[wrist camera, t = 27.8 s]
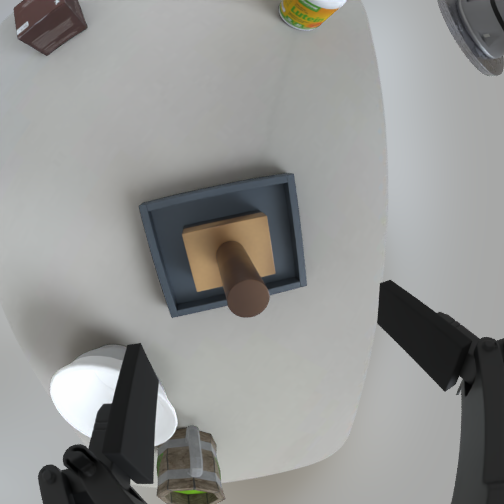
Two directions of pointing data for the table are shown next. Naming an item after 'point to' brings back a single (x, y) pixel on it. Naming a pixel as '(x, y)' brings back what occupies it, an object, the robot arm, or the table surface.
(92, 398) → the bowl
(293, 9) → the supplement bottle
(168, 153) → the table surface
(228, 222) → the peg on wooden base
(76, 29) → the box
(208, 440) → the mug
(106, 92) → the table surface
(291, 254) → the tray
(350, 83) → the table surface
